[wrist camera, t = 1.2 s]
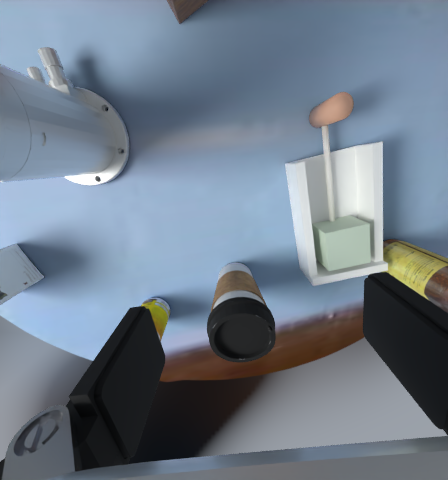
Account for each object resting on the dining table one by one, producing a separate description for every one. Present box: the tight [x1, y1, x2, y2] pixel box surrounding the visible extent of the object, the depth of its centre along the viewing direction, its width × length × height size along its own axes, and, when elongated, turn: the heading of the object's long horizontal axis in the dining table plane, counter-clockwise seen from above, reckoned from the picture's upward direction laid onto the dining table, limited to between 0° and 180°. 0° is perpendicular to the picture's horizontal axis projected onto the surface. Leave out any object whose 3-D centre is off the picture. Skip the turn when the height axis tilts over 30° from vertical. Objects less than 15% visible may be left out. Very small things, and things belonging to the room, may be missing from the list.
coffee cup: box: [207, 262, 275, 362], centre depth 32 cm, size 8×8×15 cm
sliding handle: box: [309, 92, 371, 271], centre depth 31 cm, size 22×6×6 cm, turn 14°
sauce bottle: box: [383, 239, 448, 313], centre depth 29 cm, size 7×6×20 cm
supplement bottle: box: [141, 298, 170, 341], centre depth 37 cm, size 6×6×10 cm
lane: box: [285, 142, 388, 286], centre depth 33 cm, size 18×11×6 cm, turn 14°
